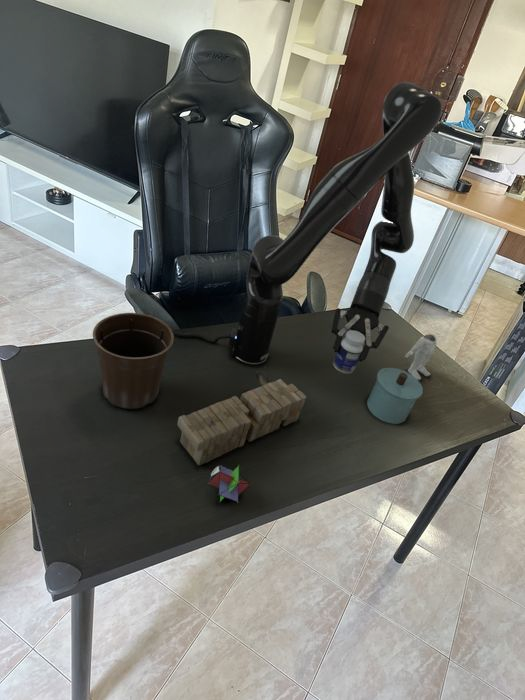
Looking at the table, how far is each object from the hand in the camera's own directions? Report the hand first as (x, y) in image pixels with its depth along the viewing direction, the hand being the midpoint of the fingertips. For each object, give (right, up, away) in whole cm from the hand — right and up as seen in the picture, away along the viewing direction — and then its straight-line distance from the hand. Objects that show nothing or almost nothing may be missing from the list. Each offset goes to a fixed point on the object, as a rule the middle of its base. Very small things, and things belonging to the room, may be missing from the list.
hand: (348, 356), depth 119 cm
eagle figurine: (-21, -11, -1) cm, 23 cm away
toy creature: (+24, -5, +22) cm, 33 cm away
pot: (+11, -14, +6) cm, 19 cm away
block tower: (-26, -17, -12) cm, 33 cm away
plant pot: (-51, -8, -9) cm, 52 cm away
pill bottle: (-1, -3, +4) cm, 5 cm away
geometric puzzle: (-28, -26, -25) cm, 46 cm away
